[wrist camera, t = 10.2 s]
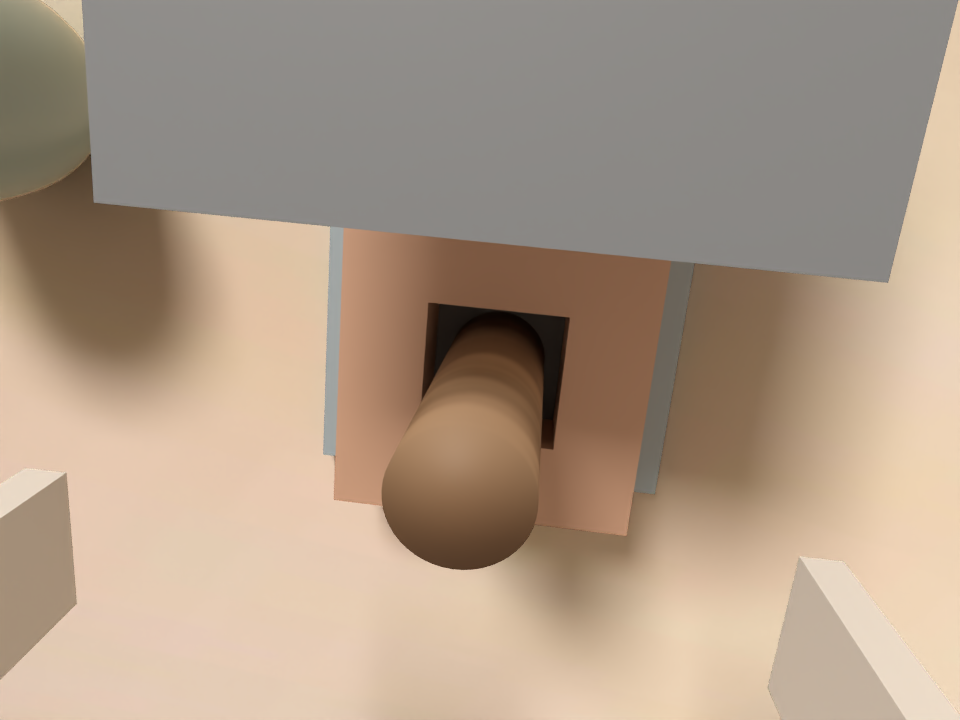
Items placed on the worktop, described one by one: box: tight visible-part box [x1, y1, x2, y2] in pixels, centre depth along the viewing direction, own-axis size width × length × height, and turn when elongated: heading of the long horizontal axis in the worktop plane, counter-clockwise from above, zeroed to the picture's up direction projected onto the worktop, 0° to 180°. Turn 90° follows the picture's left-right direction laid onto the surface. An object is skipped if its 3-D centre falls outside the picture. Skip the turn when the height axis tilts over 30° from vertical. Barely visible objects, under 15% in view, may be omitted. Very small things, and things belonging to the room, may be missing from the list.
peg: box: [381, 312, 545, 570], centre depth 22 cm, size 4×4×12 cm
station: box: [82, 0, 958, 536], centre depth 20 cm, size 14×25×16 cm, turn 175°
